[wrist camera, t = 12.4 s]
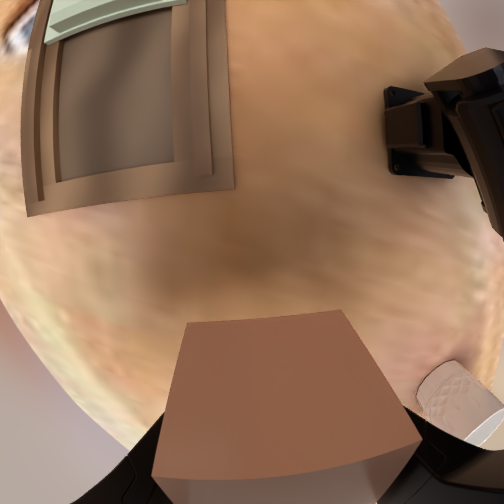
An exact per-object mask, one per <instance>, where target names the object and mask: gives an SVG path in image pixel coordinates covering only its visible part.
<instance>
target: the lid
mask: <svg viewBox="0 0 504 504" xmlns="http://www.w3.org/2000/svg"><path fill="white" fill-rule="evenodd" d="M181 4H187V0H54V1H53V5H52V9H51V13H50V17H49V21H48V25H47V30H46V35H45V40H44V43H45V44H47V45H50V44H52V43H55V42H57V41H59V40H61V39H63V38H66V37H68V36H70V35H73V34H75V33H78V32H80V31H83V30H86V29H88V28H91V27H94V26H97V25H100V24H103V23H106V22H109V21H112V20H115V19H118V18H122V17H125V16H129V15H133V14H137V13H141V12H145V11H149V10H154V9H159V8H164V7H169V6H175V5H181Z"/></svg>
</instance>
